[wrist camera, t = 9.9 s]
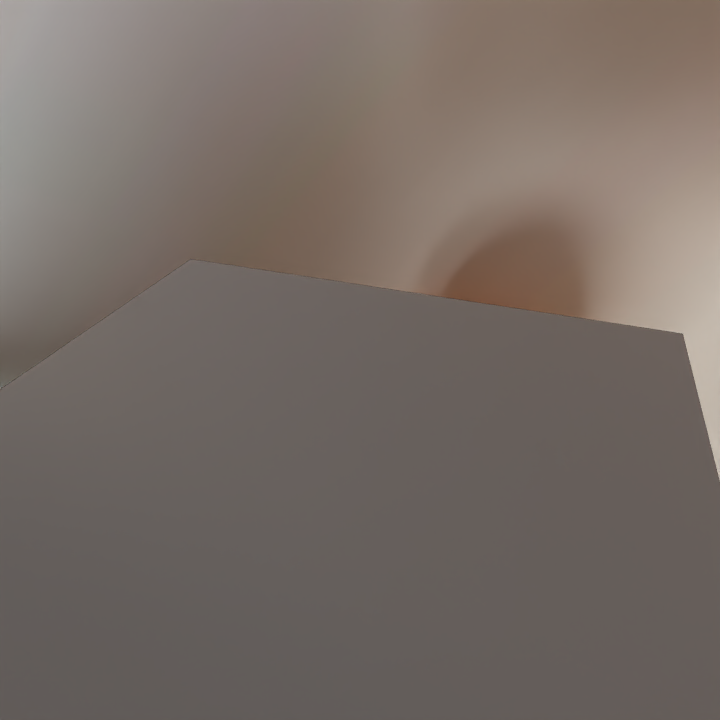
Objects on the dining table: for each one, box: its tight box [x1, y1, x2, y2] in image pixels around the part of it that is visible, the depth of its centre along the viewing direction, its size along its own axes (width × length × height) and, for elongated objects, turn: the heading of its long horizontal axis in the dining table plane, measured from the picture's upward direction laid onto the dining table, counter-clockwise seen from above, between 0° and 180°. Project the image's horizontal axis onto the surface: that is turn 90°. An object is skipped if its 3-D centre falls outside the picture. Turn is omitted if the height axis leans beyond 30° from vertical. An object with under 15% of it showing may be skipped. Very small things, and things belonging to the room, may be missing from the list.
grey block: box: [0, 259, 720, 720], centre depth 8 cm, size 8×8×9 cm
